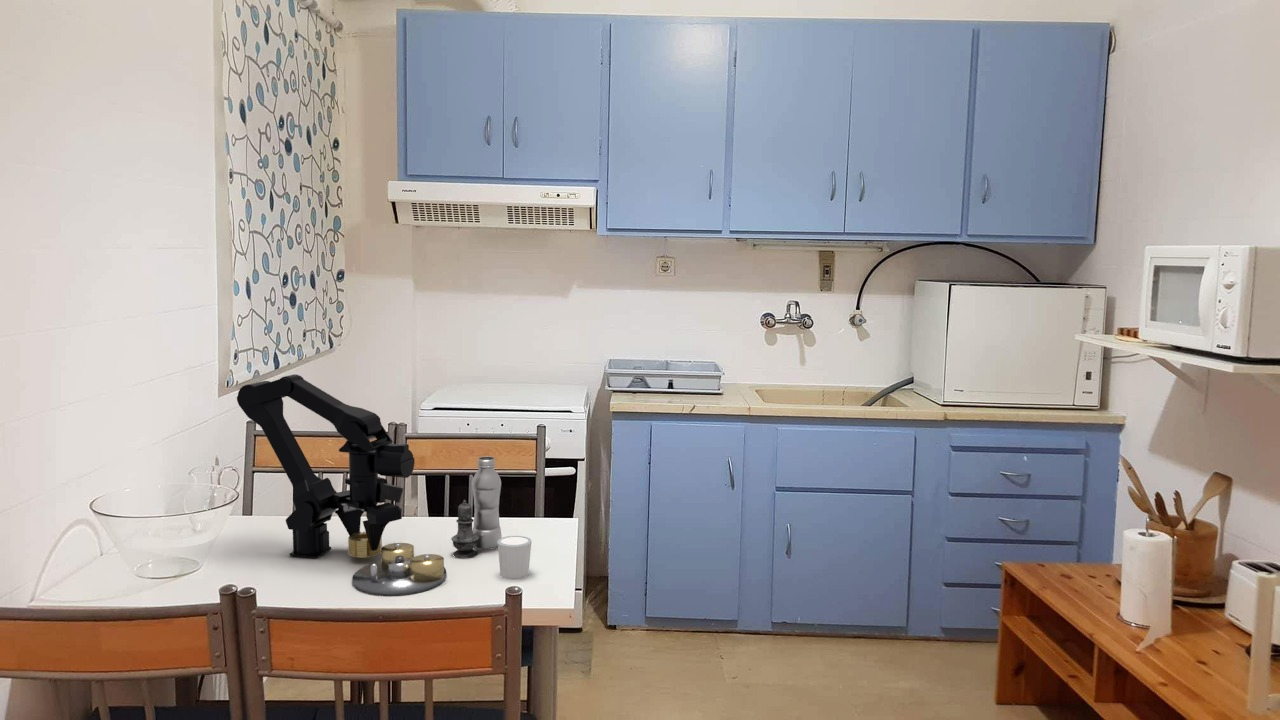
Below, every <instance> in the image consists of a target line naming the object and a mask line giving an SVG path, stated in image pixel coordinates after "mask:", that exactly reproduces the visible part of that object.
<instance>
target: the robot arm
mask: <svg viewBox="0 0 1280 720" xmlns="http://www.w3.org/2000/svg"><path fill="white" fill-rule="evenodd" d="M286 397H288V398H290V399H291V400H293V401H295V402H296V403H298V404H300V405H301V406H303V407H305V408H307V409H308V410H309V411H311V412H312V413H315V414H316V415H318V416H319V417H322V418H323V419H325V420H326V421H328V422H329V423H331V425H333V426H334V428H335V430H336V431H337V433H338V434H339V435H340V436H342V438H344V439H345V440H346V441H345V442H344V444H343V445H342V446H341V447H339V448H338V451H339V453H348V473H349V475H348V477H347V478H345V479H344V484H346V485H348V486H349V489H348V490H344V491H343V490H342V491H340V492H337V491H336V490H335V488H334V487H333V485H332V482H331V479H330V478H328V477H325V478H323V479H321V478H320V477H319V476H317V474H315V472H314V470H313V469H312V467H311V465H310V463H309V461H308V459H307V458H306V456H305V454H304V452H303V450H302V448H301V446H300V445H299V443H298V440H297V439H296V437H295V435H294V433H293V432H292V430H291V428H290V426H289V424H288V422H287V421H286V419H285V415H284V400H283V398H286ZM236 400H237V401H236V402H237V404H238V406H239V407H240V409H241V410H242V411H243V412H244V414H245V416H246V417H247V418H248V419H250V420H251V421H253V422H254V423H255V424H257V425H259V427H260V428H261V430H262V431H263V433H264V435H265V437H266V439H267V440H268V442H269V444H270V447H271V448H272V450H273V452H274V455H275V456H276V458H277V459H278V461H279V463H280V465H281V467H282V469H283V470H284V472H285V474H286V476H287V477H288V480H289V482H290V483H291V485H292V502H293V505H294V508H295V509H294V510H293V512H291V514H290V515H289V516H287V518H286V519H285V523H286V526H287V529H288V530H291V531H292V549H293V550H292V551H291V552H289V553H288V556H289V557H298V558H311V559H317V558H319V557H321V556H322V555H324V554H325V553H327V552H329V551H330V550H332V546H330V531H329V530H328V523H326V522H330V520H332V517H333V514H334V513H335V514H336V515H337V517H338V518H339V519H340V520H339V521H341V523H342V525H343V526H344V529H345V530H346V532H347V534H348V535H349V536H350V535H352V534H354V533H358V532H361V519H362V516H363V514H364V513H365V514H366V515H365V516H366V520H363V521H362V523H363V525H362V526H363V528H364V532H366V534H367V538H368V541H369V544H370V547H371V550H372V551H375V550H377V548H378V545H379V542H380V539H381V536H383V533H384V532H385V531H384V530H385V528H386V526H387V525H388V524H389V523H391V522H396V521H399V520H402V519H403V509H402V508H401V507H400V506H399V505H397V504H394V503H391V502H386V500H387V501H393V502H395V503H399V504H400V503H401V501H402V500H401V499H402V495H403V492H404V488H403V487H401V486H398V485H394V484H390V483H388V479H387V478H384V477H391V478H392V477H393V478H404V479H407V478H409V477H411V475H412V474H413V472H414V469H415V468H414V467H415V463H416V462H415V457H414V454H413V452H412V451H411V450H410V445H409V444H408V443H397V444H396V443H393V440H392V438H391V436H390V435H389V434H388V432H387V431H386V429H385V428H384V426H383V425H382V421H381V418H380V416H379V415H378V414H377V413H375V412H373V411H370V410H368V409H364V408H362V407H358V406H353V405H349V404H347V403H344V402H342V401H341V400H339V399H337V398H336V397H334V396H333V395H331V394H329V393H327V392H326V391H324V390H323V389H322V388H319V387H317V386H315V385H314V384H312V383H311V382H309V381H307V380H306V379H304V377H303V376H302V375H300V374H299V375H298V374H289V375H286V376H282V377H280V378H278V379H276V380H273V381H269V380H262V381H257V382H254V383H248V384H245V385H243V386H241V388H239V390H238V393H237V396H236ZM373 439H374V440H373ZM371 440H372V441H371ZM380 476H383V477H380Z"/></svg>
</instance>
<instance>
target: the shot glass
mask: <svg viewBox="0 0 1280 720" xmlns="http://www.w3.org/2000/svg"><path fill="white" fill-rule="evenodd" d="M497 542H498V547H497V549H498V550H497V552H498V563H499V571H500V572H499V573H500V576H501V577H502V578H503V579H504V578H505V579H509V580H516V579H523V578H525V576H526V577H527V576H528V575H529V573H530V572H529V571H530V563H531V562H530V561H531V553H532V552H531V550H532V539H531V538H530V537H527V536H523V535H509V536H504V537H501V538H500V539H499V540H498V541H497Z"/></svg>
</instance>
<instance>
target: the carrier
mask: <svg viewBox="0 0 1280 720" xmlns="http://www.w3.org/2000/svg"><path fill="white" fill-rule="evenodd" d="M380 555H381V561H378V562H374V563H371V564H368V565H365V566H363V567H361V568H358V570H356V571H355V572H354V573H353V574H352V586H353V587H354V589H356V590H357V591H358V592H361V593H364V594H367V593H368V594H367V595H372V594H373V595H372V596H379V595H381V597H382V595H383V597H397V596H398V597H401V596H409V595H416V594H419V593H424V592H427V591H431V590H433V589H435V588H438V587H439V586H441V585H442V584H443V583H444V582H445V581H446V580H447V569H446V567H445V565H444V564H445V563H444V562H445V561H444V560H445V557H443V556H442V555H440V554H435V553H432V554H431V553H427V554H419V555H415V546H414V544H411V543H408V542H393V543H392V542H391V543H388V544H384V546H383V545H382V548H381V553H380Z"/></svg>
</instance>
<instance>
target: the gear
mask: <svg viewBox="0 0 1280 720" xmlns="http://www.w3.org/2000/svg"><path fill="white" fill-rule="evenodd" d="M382 536H383V535H382ZM382 536H381V539H380V542H379V545H378V548H377V550H375V551H372V550H371V547H370V544H369V541H368V538H367V534H366V531H360V532H358V533H354V534H352V535H350V536H349V537H348V538H347V539H348V543H347V544H348V555H349V556H351V557H354V558H356V557H357V558H361V559H362V558H368V557H369V558H372V557H374V556H375V557H376V556H378V555H381V548H382V547H383V544H382Z"/></svg>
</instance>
